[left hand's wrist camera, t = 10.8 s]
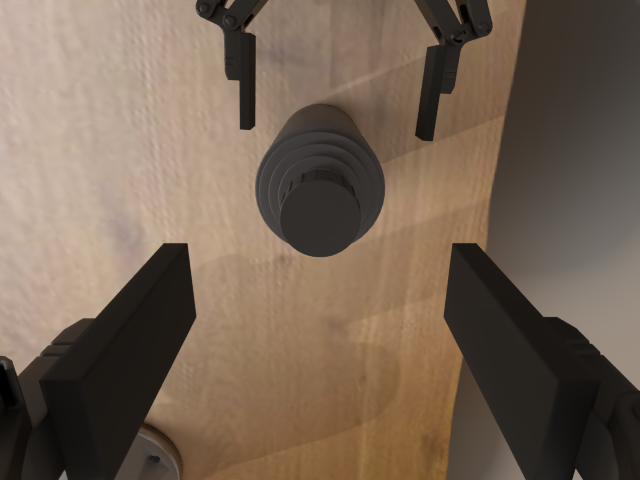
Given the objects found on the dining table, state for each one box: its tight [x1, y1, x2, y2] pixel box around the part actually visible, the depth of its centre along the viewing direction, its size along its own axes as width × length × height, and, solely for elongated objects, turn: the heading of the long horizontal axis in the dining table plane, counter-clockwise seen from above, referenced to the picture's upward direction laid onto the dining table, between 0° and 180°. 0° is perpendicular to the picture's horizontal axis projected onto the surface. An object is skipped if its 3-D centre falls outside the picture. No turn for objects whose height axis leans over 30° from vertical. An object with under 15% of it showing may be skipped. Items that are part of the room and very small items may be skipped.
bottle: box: [255, 104, 385, 244], centre depth 30 cm, size 8×8×21 cm
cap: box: [279, 169, 361, 257], centre depth 21 cm, size 4×4×2 cm
